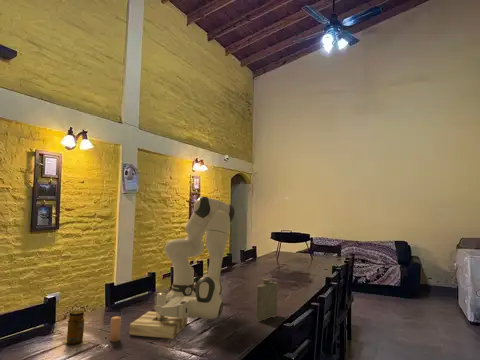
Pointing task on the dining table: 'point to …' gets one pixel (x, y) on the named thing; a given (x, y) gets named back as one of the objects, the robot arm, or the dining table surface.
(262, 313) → the hip flask
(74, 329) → the condiment
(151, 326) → the hole block
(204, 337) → the dining table surface
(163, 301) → the tall metal pin
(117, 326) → the short terracotta pin
